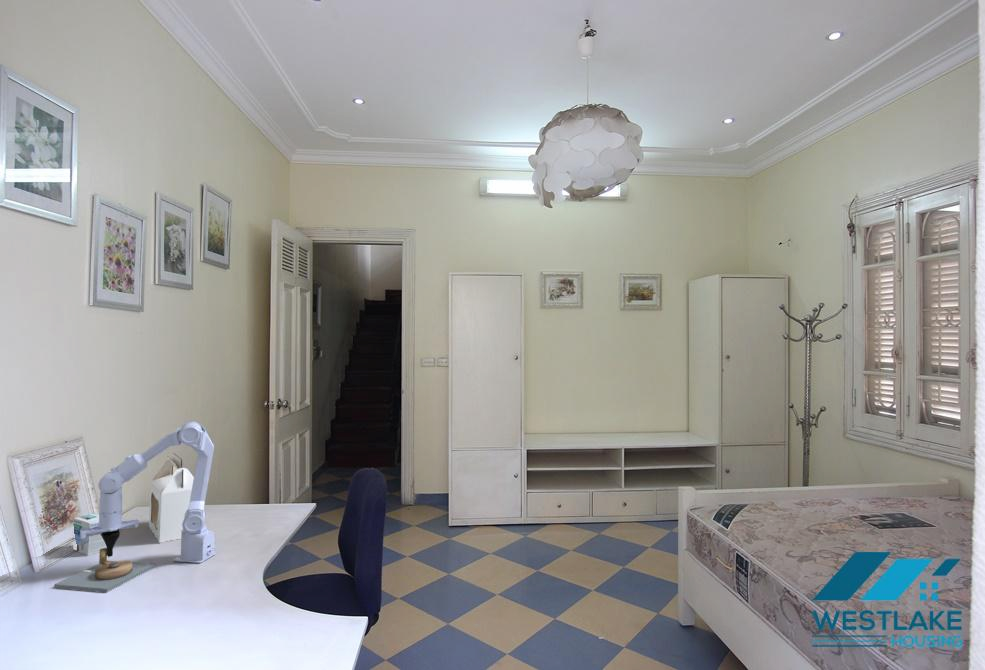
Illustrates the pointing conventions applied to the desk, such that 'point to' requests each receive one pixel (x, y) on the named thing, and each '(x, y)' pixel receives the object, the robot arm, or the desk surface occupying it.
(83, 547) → the light bulb box
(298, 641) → the desk surface
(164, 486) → the gable box
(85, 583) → the base plate
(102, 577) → the dial
